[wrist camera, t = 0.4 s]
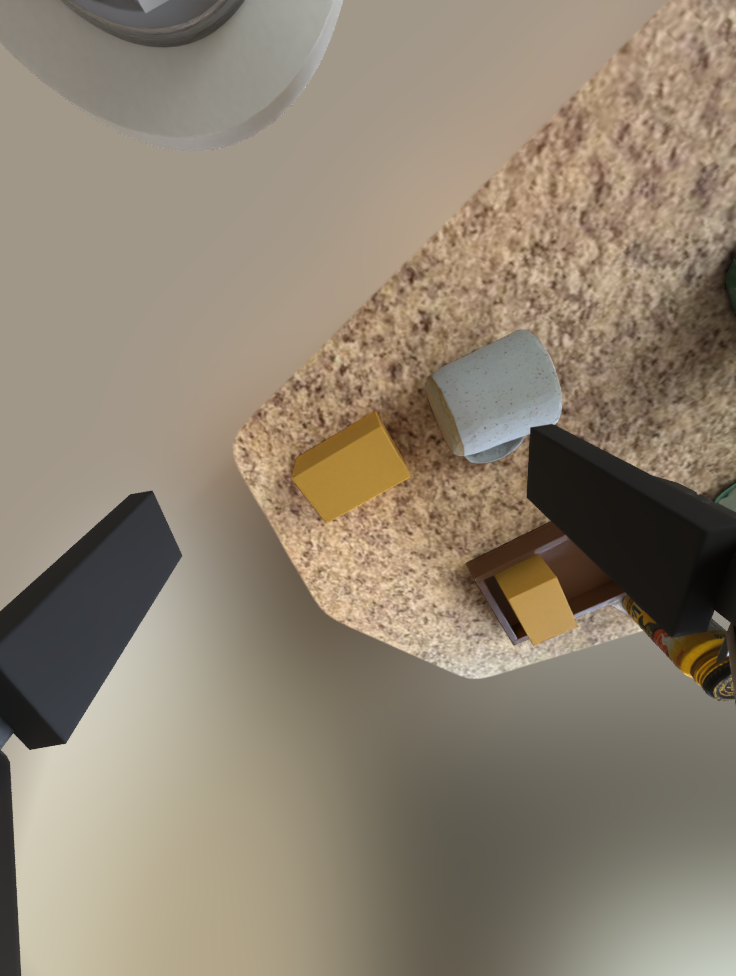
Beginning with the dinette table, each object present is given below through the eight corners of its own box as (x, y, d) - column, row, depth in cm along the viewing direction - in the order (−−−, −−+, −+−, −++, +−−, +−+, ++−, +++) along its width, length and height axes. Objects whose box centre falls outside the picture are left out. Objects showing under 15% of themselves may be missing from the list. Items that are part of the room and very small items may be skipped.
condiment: (606, 602, 45) (689, 695, 35) (663, 555, 43) (772, 640, 32) (640, 622, 48) (728, 716, 37) (697, 579, 45) (809, 667, 34)
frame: (465, 562, 41) (473, 578, 38) (602, 496, 38) (619, 508, 36) (504, 628, 46) (513, 645, 44) (626, 574, 44) (642, 589, 41)
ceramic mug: (412, 369, 31) (434, 392, 24) (505, 322, 29) (556, 333, 23) (452, 471, 35) (480, 513, 29) (534, 434, 34) (583, 470, 28)
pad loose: (327, 499, 36) (326, 524, 32) (295, 457, 33) (290, 478, 30) (402, 456, 34) (411, 477, 30) (375, 410, 32) (380, 425, 28)
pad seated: (491, 570, 41) (507, 599, 37) (535, 549, 40) (556, 577, 36) (516, 615, 44) (533, 646, 41) (556, 597, 44) (578, 626, 40)
